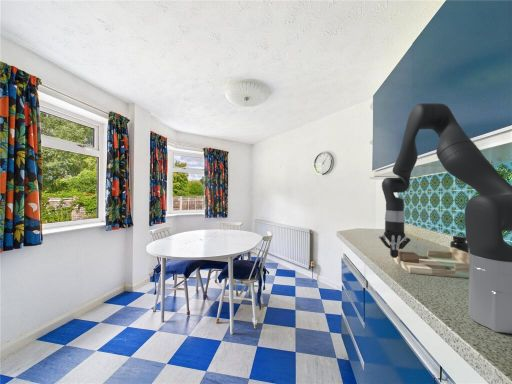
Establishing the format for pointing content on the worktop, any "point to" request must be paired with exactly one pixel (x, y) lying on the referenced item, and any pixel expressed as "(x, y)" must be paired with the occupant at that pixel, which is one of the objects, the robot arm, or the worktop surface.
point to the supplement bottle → (460, 243)
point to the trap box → (439, 263)
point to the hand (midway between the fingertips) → (394, 257)
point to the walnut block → (408, 256)
